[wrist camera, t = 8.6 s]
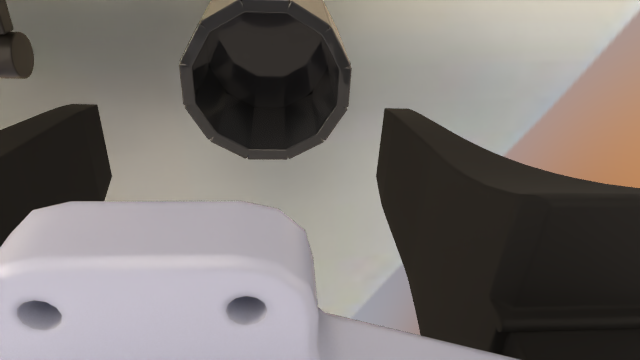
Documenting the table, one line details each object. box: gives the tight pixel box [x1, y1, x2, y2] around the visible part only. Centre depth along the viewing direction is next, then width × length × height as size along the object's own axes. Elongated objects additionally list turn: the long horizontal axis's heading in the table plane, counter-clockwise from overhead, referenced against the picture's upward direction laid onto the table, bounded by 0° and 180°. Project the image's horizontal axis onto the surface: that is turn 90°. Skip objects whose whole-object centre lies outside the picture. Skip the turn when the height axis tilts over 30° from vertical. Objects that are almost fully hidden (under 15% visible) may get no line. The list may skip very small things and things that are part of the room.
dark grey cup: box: [179, 0, 352, 160], centre depth 17 cm, size 5×5×5 cm
